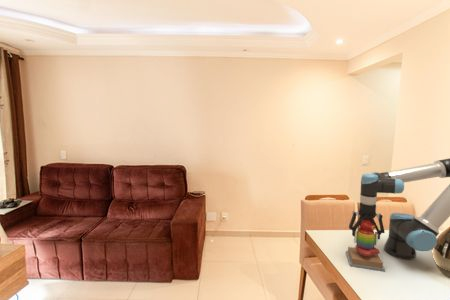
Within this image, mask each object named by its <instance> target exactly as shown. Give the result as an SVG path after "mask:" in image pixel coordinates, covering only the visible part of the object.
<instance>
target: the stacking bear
mask: <svg viewBox="0 0 450 300" xmlns="http://www.w3.org/2000/svg"><path fill="white" fill-rule="evenodd" d="M375 230H376V229H375V225H374V224H373V223H372V221H370V220H362V222H361V224H360V225H359V227H358V228H357V229H356V231H357V240H356V243H355V244H356V245H355V247H354V248H356V250H357V251H358V252H359V253H361V254H362V255H364V256H371V254H378V255H379V254H380V250H379V249H378V248H377V247H375V246H376V245H375V242H376V238H375Z"/></svg>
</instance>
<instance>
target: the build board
mask: <svg viewBox="0 0 450 300" xmlns="http://www.w3.org/2000/svg"><path fill="white" fill-rule="evenodd" d="M345 254H346V257H347V260H348V264H349V267H354V268H359V269H365V270H370V271H371V270H372V271H377V272H383V273H384V272H386V269H385V267H384V262H383V261H382V259H381V258H380V256H379V253H378V254H371V256H364V255H362V254H361V253H359V252H358V251H357V250H356V248H355V247H352V246H348V247H347V250H346V251H345Z"/></svg>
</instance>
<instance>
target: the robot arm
mask: <svg viewBox="0 0 450 300" xmlns="http://www.w3.org/2000/svg"><path fill="white" fill-rule="evenodd" d="M433 178H440V179H444V178H450V158H444V159H439V160H434V161H433V163H428V164H423V165H417V166H412V167H406V168H402V169H396V170H395V169H394V170H392V171H391V170H390V171H385V172H376V171H375V172H372V173H363V174H362V175H361V179H360V192H359V193H360V195H359V209H358V211H355V210H353V211H352V215H351V216H352V217H351V219H350V222H349V225H348V228H349V230H351V232H352V233H351V234H352V237H353V243H354V244H357V243H356V240H357V230H358V229H359V227H360V224H361V222H362V220H370V221H372V223H373V224H374V225H375V229H374V230H376V231H374V234H375V238H376V242H375V246H376V247H378V241H379V240H380V239H381V235H382V234H385V228H384V224H383V223H384V222H383V215H382V214H381V213H377V212H376V211H377V205H376V204H377V197H378V196H377V195H378V194H394V195H395V194H402V193H403V192H404V190H405V183H409V182H414V181H415V182H416V181H422V180H427V179H433ZM358 215H359V217H358V219H357V216H358ZM374 218H377V220H378V224H379V227H378V224H377V223H376V221H375V219H374ZM449 218H450V183H449V184H448V185H447V186H446V187H445V189H444V190H443V191H441V193H440V194H439V195H438V197H437V198H435V199H434V201H433V202H432V203H431V205H429V207H427V209H426V210H425V211H424V212H423V213H422V214H421V215H420V216H418V217H416V216H414V215H412V214H409V213H402V212H392V213H391V214H390V216H389V227H388V236H387V239H386V241H385V243H384V247H383V250H384V251H385V252H386V253H387V254H389V255H390V256H392V257H395V258H398V259H402V260H403V259H404V260H414V259H416V257H417V252H416V251H418V252H430V251H431V250H434V249H435V247H437V245H438V238H437V236H438V235H440V232H439V229H440V228H441V227H442V225H443V224H444V223H445V222H446V221H447V220H448V219H449ZM356 219H357V220H356Z"/></svg>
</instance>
